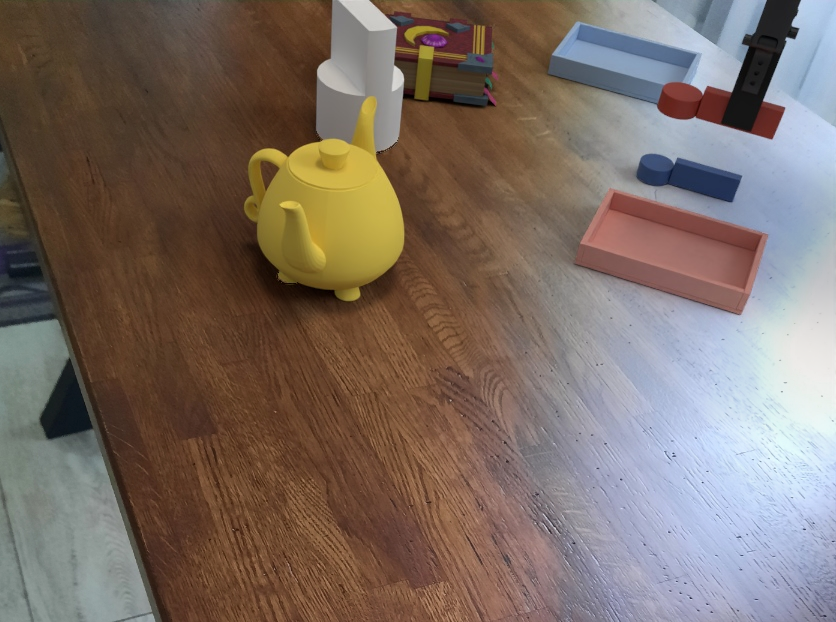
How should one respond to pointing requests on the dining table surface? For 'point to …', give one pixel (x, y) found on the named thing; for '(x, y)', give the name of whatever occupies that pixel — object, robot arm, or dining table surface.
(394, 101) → the base with upright slab
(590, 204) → the dining table surface
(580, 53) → the blue tray
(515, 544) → the dining table surface
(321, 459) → the dining table surface
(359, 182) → the teapot
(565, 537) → the dining table surface
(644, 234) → the pink tray
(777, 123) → the red spoon
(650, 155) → the blue spoon
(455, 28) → the decorative book
